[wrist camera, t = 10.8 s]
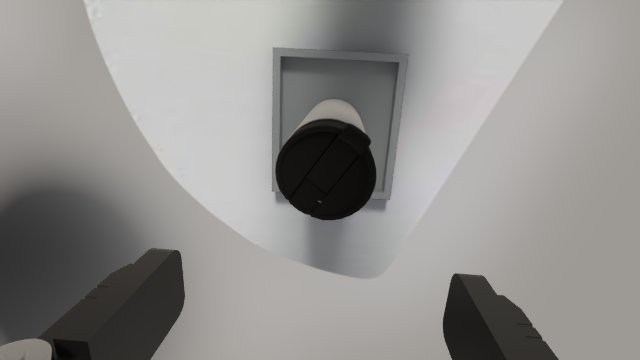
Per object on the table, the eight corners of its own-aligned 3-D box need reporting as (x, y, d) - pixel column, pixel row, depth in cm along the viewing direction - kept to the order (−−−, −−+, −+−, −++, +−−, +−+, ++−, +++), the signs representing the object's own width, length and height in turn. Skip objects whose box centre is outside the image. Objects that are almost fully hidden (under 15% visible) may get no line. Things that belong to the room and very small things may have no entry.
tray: (276, 48, 37) (272, 47, 35) (404, 55, 36) (408, 54, 34) (275, 185, 42) (272, 191, 40) (387, 193, 41) (390, 199, 39)
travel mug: (374, 117, 38) (405, 164, 19) (339, 162, 40) (335, 246, 21) (330, 84, 37) (315, 97, 18) (296, 131, 39) (251, 188, 20)
